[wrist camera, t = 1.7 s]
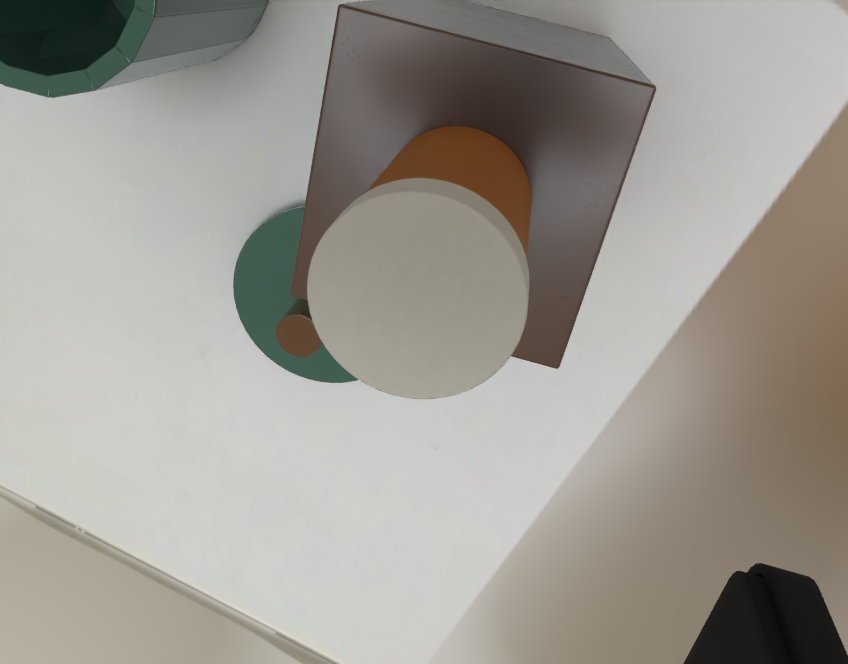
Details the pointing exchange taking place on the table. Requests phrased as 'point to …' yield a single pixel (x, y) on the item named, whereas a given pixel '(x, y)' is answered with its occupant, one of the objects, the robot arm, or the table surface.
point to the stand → (490, 112)
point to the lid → (281, 301)
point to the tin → (114, 40)
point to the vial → (428, 268)
